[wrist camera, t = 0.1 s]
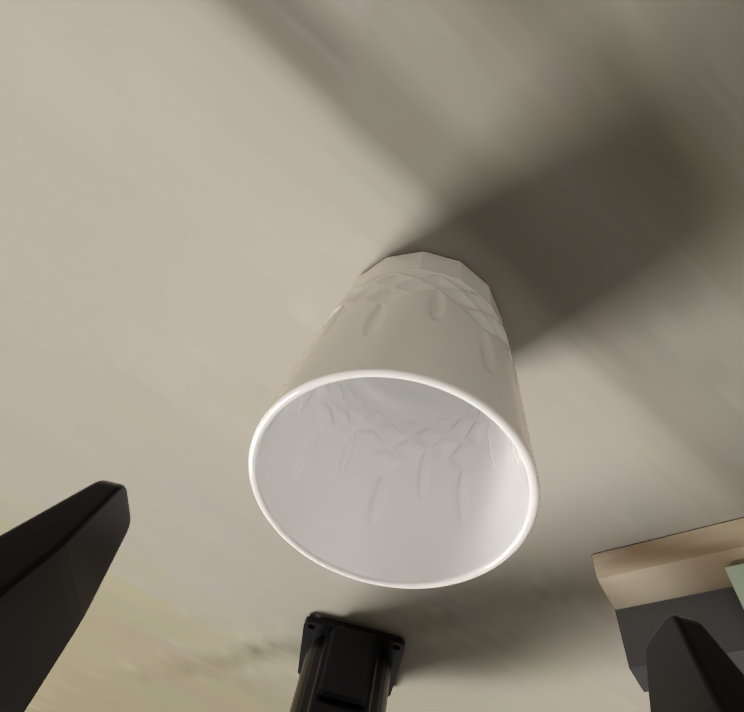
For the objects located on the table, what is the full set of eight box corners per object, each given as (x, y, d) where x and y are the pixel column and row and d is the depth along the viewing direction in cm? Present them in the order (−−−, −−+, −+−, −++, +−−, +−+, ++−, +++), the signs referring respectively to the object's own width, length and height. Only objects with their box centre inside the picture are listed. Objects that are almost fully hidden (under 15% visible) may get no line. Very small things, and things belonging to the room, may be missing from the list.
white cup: (378, 200, 21) (309, 313, 12) (555, 294, 21) (606, 463, 13) (303, 353, 25) (214, 518, 16) (454, 428, 26) (443, 623, 17)
